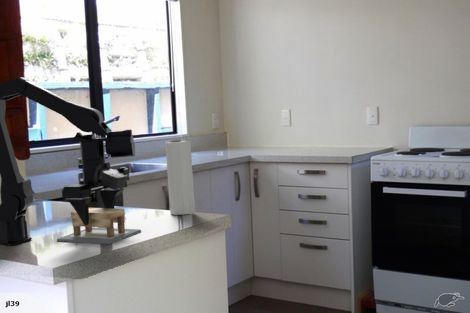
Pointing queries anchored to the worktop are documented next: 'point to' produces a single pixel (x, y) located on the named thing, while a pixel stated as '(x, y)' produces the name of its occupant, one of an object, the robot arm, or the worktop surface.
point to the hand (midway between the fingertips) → (98, 221)
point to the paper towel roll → (180, 177)
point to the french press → (96, 201)
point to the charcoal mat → (99, 236)
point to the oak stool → (100, 220)
